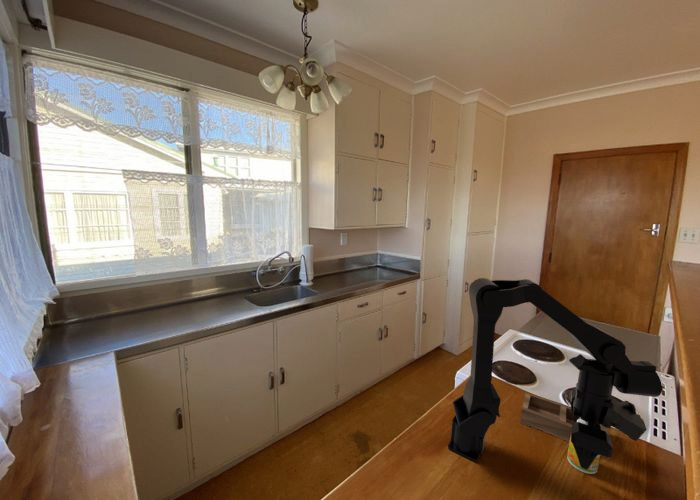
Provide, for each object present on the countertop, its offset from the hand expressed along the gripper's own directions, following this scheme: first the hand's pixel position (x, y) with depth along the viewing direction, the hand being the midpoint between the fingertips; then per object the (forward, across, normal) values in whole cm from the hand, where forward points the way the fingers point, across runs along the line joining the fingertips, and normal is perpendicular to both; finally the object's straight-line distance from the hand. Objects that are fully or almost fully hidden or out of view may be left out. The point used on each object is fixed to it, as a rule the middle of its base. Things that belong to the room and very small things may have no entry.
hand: (583, 453), depth 67 cm
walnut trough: (+2, +11, +4) cm, 12 cm away
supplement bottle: (+3, 0, 0) cm, 3 cm away
